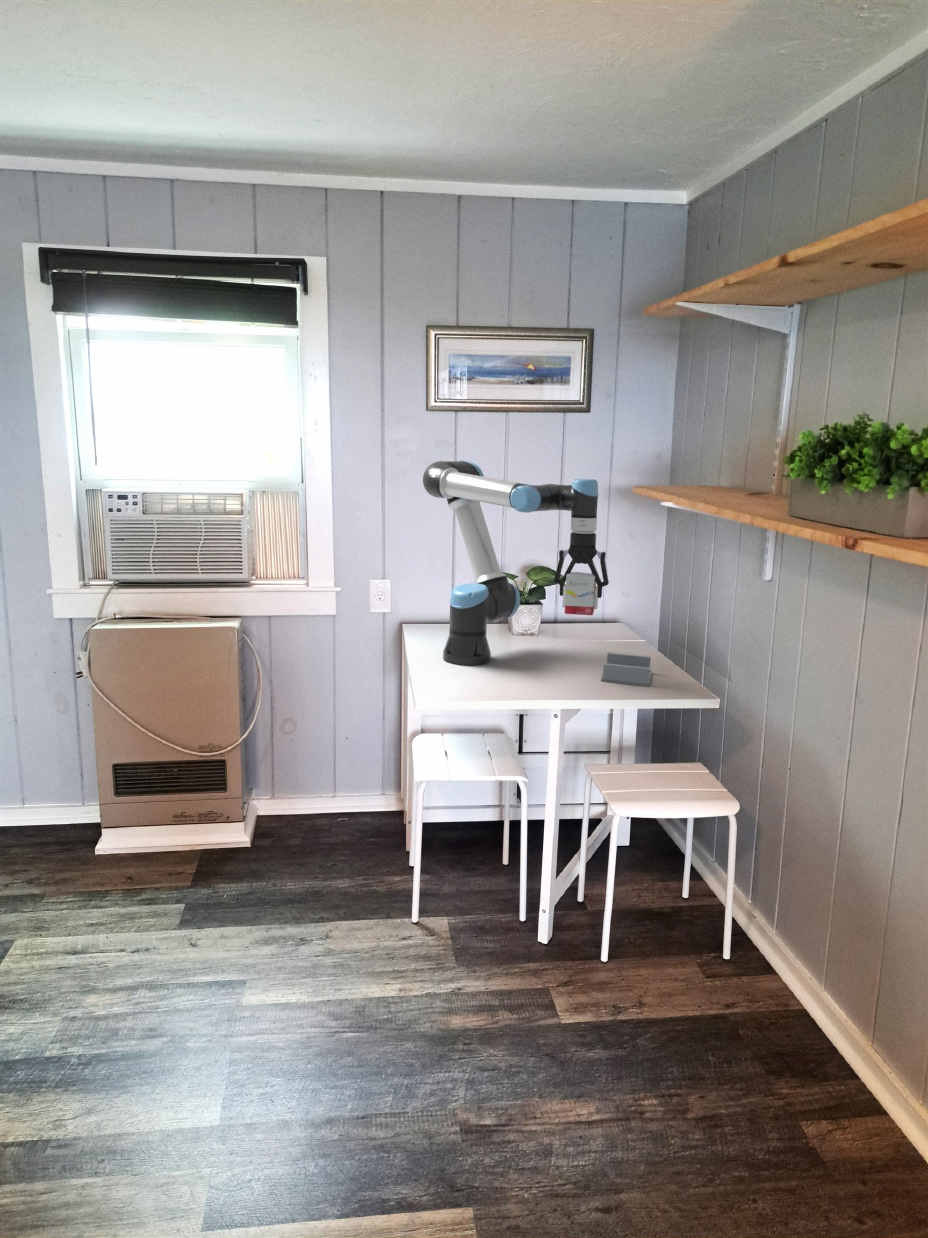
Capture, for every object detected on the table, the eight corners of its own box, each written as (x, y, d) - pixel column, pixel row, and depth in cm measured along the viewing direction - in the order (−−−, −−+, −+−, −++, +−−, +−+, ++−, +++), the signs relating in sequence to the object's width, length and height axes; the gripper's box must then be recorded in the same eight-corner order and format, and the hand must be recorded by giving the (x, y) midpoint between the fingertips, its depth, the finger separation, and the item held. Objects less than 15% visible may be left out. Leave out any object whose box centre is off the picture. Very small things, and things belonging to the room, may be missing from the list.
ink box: (593, 615, 247) (594, 575, 245) (563, 614, 249) (565, 574, 246) (595, 610, 255) (596, 571, 253) (566, 608, 257) (568, 570, 255)
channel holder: (600, 681, 247) (602, 664, 246) (605, 668, 262) (606, 652, 261) (649, 686, 244) (650, 669, 243) (650, 672, 258) (652, 656, 257)
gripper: (545, 531, 246) (542, 607, 251) (619, 534, 241) (615, 612, 245) (549, 529, 253) (546, 603, 258) (621, 532, 248) (617, 607, 252)
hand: (580, 607), depth 252 cm, fingers closed on ink box, 9 cm apart
